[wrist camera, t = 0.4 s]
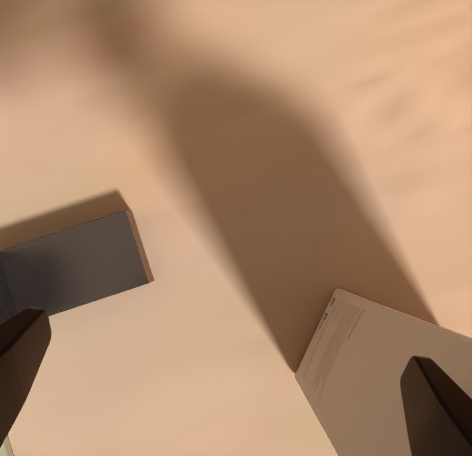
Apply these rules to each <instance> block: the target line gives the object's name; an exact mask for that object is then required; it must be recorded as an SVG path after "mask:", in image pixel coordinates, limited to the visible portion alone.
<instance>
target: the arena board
mask: <svg viewBox="0 0 472 456" xmlns="http://www.w3.org/2000/svg"><path fill="white" fill-rule="evenodd" d="M0 456H13V453H12V449H11V446H10V443H9V439H8V436H7V437H6V438H5V440H4V442H3V444H2V446H1V448H0Z"/></svg>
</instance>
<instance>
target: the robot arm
mask: <svg viewBox="0 0 472 456" xmlns="http://www.w3.org/2000/svg"><path fill="white" fill-rule="evenodd" d="M50 340H51V328H50V323H49V318H48V313H47V311H46V310H45V309H43V308H35V307H28V308H26V309H24V310H22V311H21V312H19V313H17V314H16V315H14V316H13V317H11V318H9V319H8V320H6V321H4V322H3V323H1V324H0V448H1V446H2V444H3V442H4V440H5V438H6V437H7V435H8V433H9V431H10V429H11V427H12V425H13V424H14V422H15V420H16V418H17V416H18V414H19V412H20V411H21V409H22V407H23V405H24V403H25V401H26V399H27V396H28V394H29V392H30V389H31V387H32V384H33V382H34V380H35V377H36V375H37V372H38V370H39V367H40V365H41V362H42V360H43V357H44V355H45V353H46V350H47V348H48V345H49V343H50ZM400 389H401V395H402V402H403V408H404V415H405V421H406V427H407V434H408V440H409V445H410V450H411V454H412V456H472V399H471V398H470V397H469V396H468V395H467V394H466V393H465V392H464V391H463V390H462V389H461V388H460V387H459V386H458V385H457V384H456V383H455V382H454V381H453V380H452V379H451V378H450V377H449V376H448V375H447V374H446V373H445V372H444V371H443V370H442V369H441V368H440V367H439V366H438V365H437V364H436V363H435V362H434V361H433V360H432V359H431V358H429V357H424V356H416V355H415V356H412V357H411V358H410V359H409V361H408V363H407V365H406V367H405V369H404V371H403V373H402V375H401V378H400Z"/></svg>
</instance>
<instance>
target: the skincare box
mask: <svg viewBox="0 0 472 456" xmlns="http://www.w3.org/2000/svg"><path fill="white" fill-rule="evenodd" d="M415 355H416V356H424V357H429V358H431V359H432V360H433V361H434V362H435V363H436V364H437V365H438V366H439V367H440V368H441V369H442V370H443V371H444V372H445V373H446V374H447V375H448V376H449V377H450V378H451V379H452V380H453V381H454V382H455V383H456V384H457V385H458V386H459V387H460V388H461V389H462V390H463V391H464V392H465V393H466V394H467V395H468V396H469V397H470V398H471V399H472V338H470V337H467V336H464V335H462V334H459V333H456V332H454V331H451V330H448V329H446V328H443V327H440V326H438V325H435V324H432V323H430V322H427V321H424V320H422V319H419V318H416V317H414V316H411V315H408V314H406V313H403V312H400V311H398V310H395V309H392V308H389V307H387V306H384V305H381V304H378V303H376V302H373V301H370V300H368V299H365V298H363V297H360V296H358V295H355V294H353V293H350V292H348V291H345V290H343V289H340V288H337V289H335V291H334V293H333V295H332V297H331V299H330V302H329V304H328V306H327V308H326V310H325V312H324V314H323V316H322V318H321V320H320V322H319V325H318V327H317V329H316V331H315V333H314V335H313V338H312V340H311V342H310V344H309V346H308V348H307V350H306V353H305V355H304V357H303V359H302V361H301V364H300V366H299V368H298V370H297V372H296V375H295V378H296V380H297V382H298V384H299V385H300V387H301V389H302V391H303V393H304V395H305V396H306V398H307V400H308V402H309V404H310V405H311V407H312V409H313V411H314V412H315V414H316V416H317V418H318V420H319V421H320V423H321V425H322V427H323V429H324V431H325V432H326V434H327V436H328V438H329V439H330V441H331V443H332V445H333V447H334V448H335V450H336V452H337V454H338V456H412V454H411V450H410V445H409V440H408V434H407V427H406V421H405V415H404V408H403V402H402V395H401V389H400V378H401V375H402V373H403V371H404V369H405V367H406V365H407V363H408V361H409V359H410V358H411V357H412V356H415Z"/></svg>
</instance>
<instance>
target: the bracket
mask: <svg viewBox="0 0 472 456" xmlns="http://www.w3.org/2000/svg"><path fill="white" fill-rule="evenodd" d="M152 281H154V278H153V275H152V272H151V269H150V266H149V263H148V260H147V257H146V254H145V250H144V247H143V244H142V241H141V238H140V235H139V232H138V229H137V226H136V222H135V219H134V216H133V213H132V212H130V211H127V210H124V211H121V212H118V213H115V214H112V215H109V216H106V217H103V218H100V219H97V220H94V221H91V222H88V223H85V224H82V225H79V226H75V227H72V228H69V229H66V230H63V231H60V232H57V233H54V234H51V235H48V236H45V237H42V238H39V239H36V240H33V241H29V242H26V243H23V244H20V245H17V246H14V247H11V248H8V249H5V250H2V251H0V324H1V323H3V322H4V321H6V320H8V319H9V318H11V317H13V316H14V315H16V314H17V313H19V312H21V311H22V310H24V309H26V308H28V307H35V308H43V309H45V310H46V311H47V313H48V316H51V315H54V314H57V313H60V312H63V311H66V310H69V309H72V308H75V307H78V306H81V305H84V304H87V303H90V302H93V301H96V300H99V299H102V298H105V297H108V296H111V295H114V294H117V293H120V292H123V291H126V290H130V289H133V288H136V287H139V286H142V285H145V284H148V283H150V282H152Z"/></svg>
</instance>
